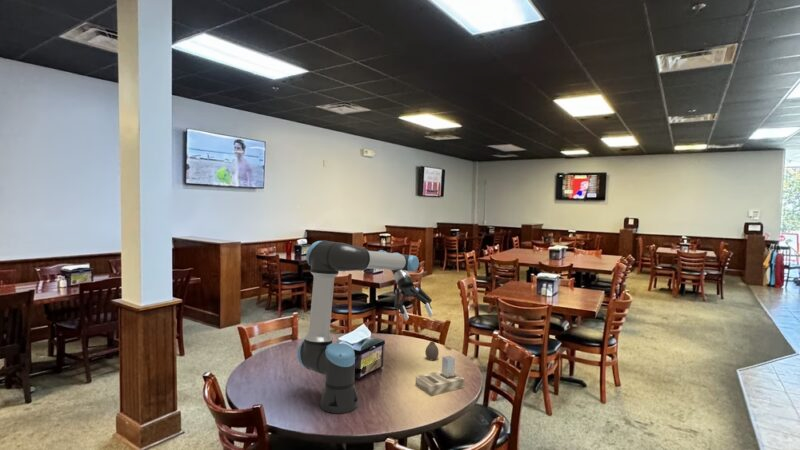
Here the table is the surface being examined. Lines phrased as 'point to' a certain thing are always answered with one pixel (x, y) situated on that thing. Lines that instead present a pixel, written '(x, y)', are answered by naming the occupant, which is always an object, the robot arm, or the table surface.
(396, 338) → the table surface
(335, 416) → the table surface
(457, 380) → the holder
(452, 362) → the grey rectangular block
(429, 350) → the dark grey egg
